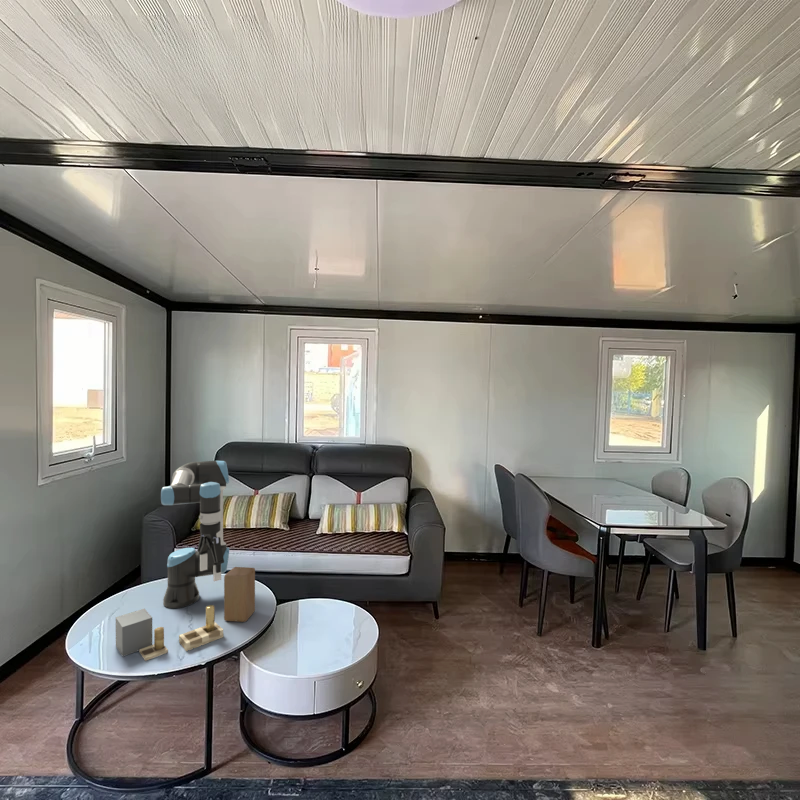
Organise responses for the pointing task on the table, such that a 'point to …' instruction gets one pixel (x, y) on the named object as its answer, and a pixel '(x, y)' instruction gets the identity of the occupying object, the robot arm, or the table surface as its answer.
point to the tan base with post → (155, 646)
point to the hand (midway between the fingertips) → (210, 575)
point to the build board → (199, 637)
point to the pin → (210, 619)
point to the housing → (133, 631)
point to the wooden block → (239, 594)
